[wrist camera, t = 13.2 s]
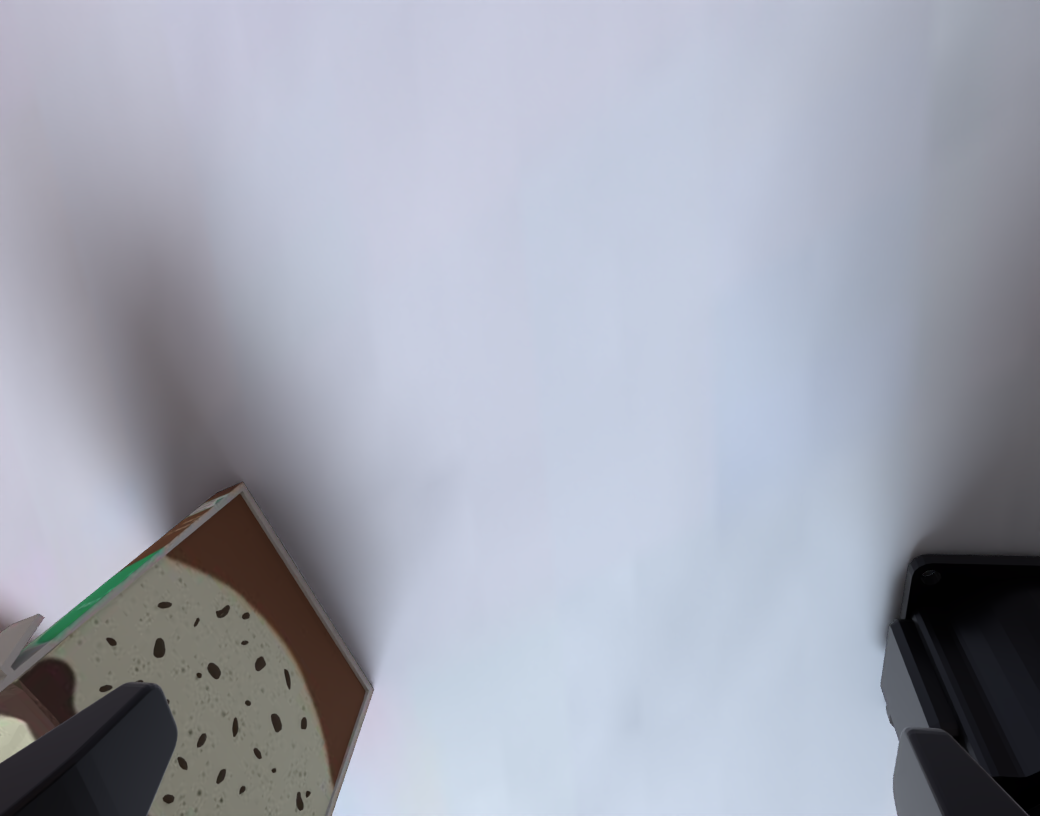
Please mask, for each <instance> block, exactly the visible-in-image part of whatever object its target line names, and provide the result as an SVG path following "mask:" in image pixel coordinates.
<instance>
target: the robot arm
mask: <svg viewBox="0 0 1040 816" xmlns="http://www.w3.org/2000/svg"><path fill="white" fill-rule="evenodd" d="M930 570H934V571H935V572H934V573H933V574H931V575H928V576H923V575H922V574H923V573H925V572H926V571H930ZM881 689H882V692H883V695H884V698H885V701H886V704H887V705H886V711H887V715H888V718H889V721H890V723H891V724H892V726H893V727H894V728H895V731H896V734H897V737H898V740H899V746H898V752H897V758H896V764H895V769H894V775H893V793H894V800H895V806H896V811H897V815H898V816H1040V557H1028V556H980V555H933V554H928V555H921V556H919V557H917V558H915V559H914V560H913V561H911V562H910V564H909V566H908V570H907V576H906V583H905V589H904V595H903V602H902V608H901V615H900V619H895V620H894V621H893V622H892V623H891V624H890V625H889V630H888V637H887V644H886V650H885V657H884V664H883V671H882V677H881ZM177 737H178V729H177V725H176V722H175V720H174V717H173V715H172V712H171V710H170V707H169V704H168V702H167V699H166V697H165V694H164V692H163V690H162V688H161V687H160V686H159V685H157V684H155V683H147V682H127V683H125V684H122V685H121V686H119V687H117V688H116V689H114V690H113V691H111V692H110V693H108V694H106V695H105V696H103V697H102V698H100V699H99V700H97V701H96V702H94V703H93V704H91V705H89V706H88V707H86V708H85V709H83V710H82V711H80V712H79V713H77V714H75V715H74V716H72V717H71V718H69V719H68V720H66V721H65V722H63V723H62V724H60V725H58V726H57V727H55V728H54V729H52V730H51V731H49V732H48V733H46V734H45V735H43V736H41V737H40V738H38V739H37V740H35V741H34V742H32V743H31V744H29V745H27V746H26V747H24V748H23V749H21V750H20V751H18V752H17V753H15V754H14V755H12V756H10V757H9V758H7V759H6V760H4V761H3V762H1V763H0V816H147V815H148V812H149V810H150V808H151V805H152V803H153V800H154V798H155V795H156V793H157V791H158V788H159V786H160V783H161V781H162V779H163V776H164V774H165V771H166V769H167V767H168V764H169V762H170V759H171V757H172V755H173V752H174V750H175V747H176V743H177Z"/></svg>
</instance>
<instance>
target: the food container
mask: <svg viewBox="0 0 1040 816" xmlns="http://www.w3.org/2000/svg"><path fill="white" fill-rule="evenodd" d="M44 618H45V617H43V616H42V615H40V614H37V615H34V616H32V617H29V618H27V619H24V620H22V621H19V622H17V623H14V624H12V625H11V626H9V627H8V628H6V629H5V630H3V631H2V632H0V763H1V762H3V761H4V760H6V759H7V758H9V757H10V756H12V755H14V754H15V753H17V752H18V751H20V750H21V749H23V748H24V747H26V746H27V745H29V744H31V743H32V742H34V741H35V740H37V739H38V738H40V737H41V736H43V735H45V734H46V733H48V732H49V731H51V730H52V729H54V728H55V727H57V726H58V725H60V724H62V723H63V722H65V721H66V720H68V719H69V718H71V717H72V716H74V715H75V714H77V713H79V712H80V711H82V710H83V709H85V708H86V707H88V706H89V705H91V704H93V703H94V702H96V701H97V700H99V699H100V698H102V697H103V696H105V695H106V694H108V693H110V692H111V691H113V690H114V689H116V688H117V687H119V686H121V685H122V684H125V683H127V682H147V683H155V684H157V685H159V686H160V687H161V688H162V690H163V692H164V694H165V697H166V699H167V702H168V704H169V707H170V710H171V712H172V715H173V717H174V720H175V722H176V725H177V729H178V737H177V743H176V747H175V750H174V752H173V755H172V757H171V759H170V762H169V764H168V767H167V769H166V771H165V774H164V776H163V779H162V781H161V783H160V786H159V788H158V791H157V793H156V795H155V798H154V800H153V803H152V805H151V808H150V810H149V812H148V815H147V816H332V813H333V810H334V807H335V804H336V801H337V798H338V795H339V792H340V789H341V786H342V783H343V780H344V777H345V774H346V771H347V768H348V765H349V762H350V759H351V756H352V753H353V750H354V747H355V744H356V741H357V738H358V735H359V733H360V730H361V727H362V724H363V721H364V718H365V715H366V712H367V709H368V706H369V703H370V700H371V697H372V694H373V691H374V690H373V688H372V686H371V685H370V683H369V682H368V680H367V678H366V677H365V675H364V674H363V672H362V670H361V669H360V667H359V666H358V664H357V663H356V661H355V659H354V658H353V656H352V655H351V653H350V651H349V650H348V648H347V647H346V645H345V643H344V642H343V640H342V639H341V637H340V635H339V634H338V632H337V631H336V629H335V628H334V626H333V624H332V623H331V621H330V620H329V618H328V616H327V615H326V613H325V612H324V610H323V608H322V607H321V605H320V604H319V602H318V601H317V599H316V597H315V596H314V594H313V593H312V591H311V589H310V588H309V586H308V585H307V583H306V581H305V580H304V578H303V577H302V575H301V574H300V572H299V570H298V569H297V567H296V566H295V564H294V562H293V561H292V559H291V558H290V556H289V554H288V553H287V551H286V550H285V548H284V546H283V545H282V543H281V542H280V540H279V539H278V537H277V535H276V534H275V532H274V531H273V529H272V527H271V526H270V524H269V523H268V521H267V519H266V518H265V516H264V515H263V513H262V512H261V510H260V508H259V507H258V505H257V504H256V502H255V500H254V499H253V497H252V496H251V494H250V492H249V491H248V489H247V488H246V486H245V485H244V483H243V482H241V483H239V484H236V485H234V486H232V487H230V488H227V489H225V490H223V491H220V492H218V493H216V494H215V495H214V496H212V497H211V498H210V499H209V500H207V501H206V502H205V503H204V504H202V505H201V506H200V507H199V508H197V509H196V510H195V511H194V512H192V513H191V514H190V515H189V516H188V517H186V518H185V519H184V520H183V521H181V522H180V523H179V524H178V525H176V526H175V527H174V528H173V529H171V530H170V531H169V532H168V533H166V534H165V535H164V536H163V537H161V538H160V539H159V540H158V541H157V542H155V543H154V544H153V545H152V546H150V547H149V548H148V549H147V550H145V551H144V552H143V553H142V554H140V555H139V556H138V557H137V558H135V559H134V560H133V561H132V562H130V563H129V564H128V565H127V566H126V567H124V568H123V569H122V570H121V571H119V572H118V573H117V574H116V575H114V576H113V577H112V578H111V579H109V580H108V581H107V582H106V583H104V584H103V585H102V586H101V587H99V588H98V589H97V590H96V591H95V592H93V593H92V594H91V595H90V596H88V597H87V598H86V599H85V600H83V601H82V602H81V603H80V604H78V605H77V606H76V607H75V608H73V609H72V610H71V611H70V612H68V613H67V614H66V615H65V616H64V617H62V618H61V619H60V620H59V621H57V622H56V623H55V624H54V625H52V626H51V627H50V628H49V629H47V630H46V631H45V632H44V633H42V634H41V635H40V636H39V637H37V638H36V639H35V640H34V641H33V642H31V643H30V644H29V645H28V646H26V647H25V645H26V644H27V642H28V641H29V639H30V638H31V636H32V635H33V633H34V632H35V631H36V629H37V628H38V626H39V625H40V623H41V622H42V620H43V619H44ZM24 647H25V648H24ZM23 648H24V649H23ZM22 649H23V650H22Z"/></svg>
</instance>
